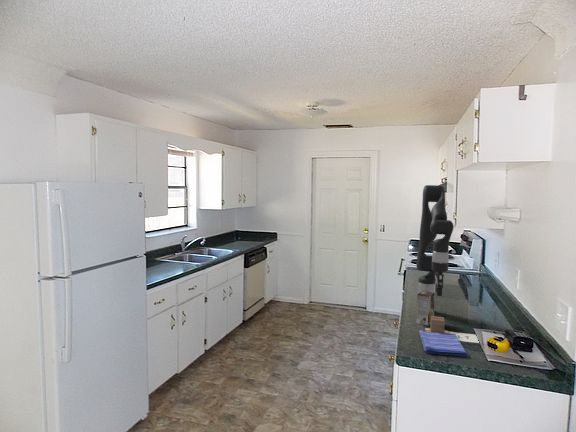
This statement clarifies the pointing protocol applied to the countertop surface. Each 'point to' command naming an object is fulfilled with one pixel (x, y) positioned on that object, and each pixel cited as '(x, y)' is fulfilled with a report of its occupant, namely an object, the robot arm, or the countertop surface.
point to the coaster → (430, 331)
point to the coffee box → (425, 307)
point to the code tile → (466, 337)
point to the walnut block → (437, 324)
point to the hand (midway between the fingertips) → (438, 293)
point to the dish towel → (442, 343)
